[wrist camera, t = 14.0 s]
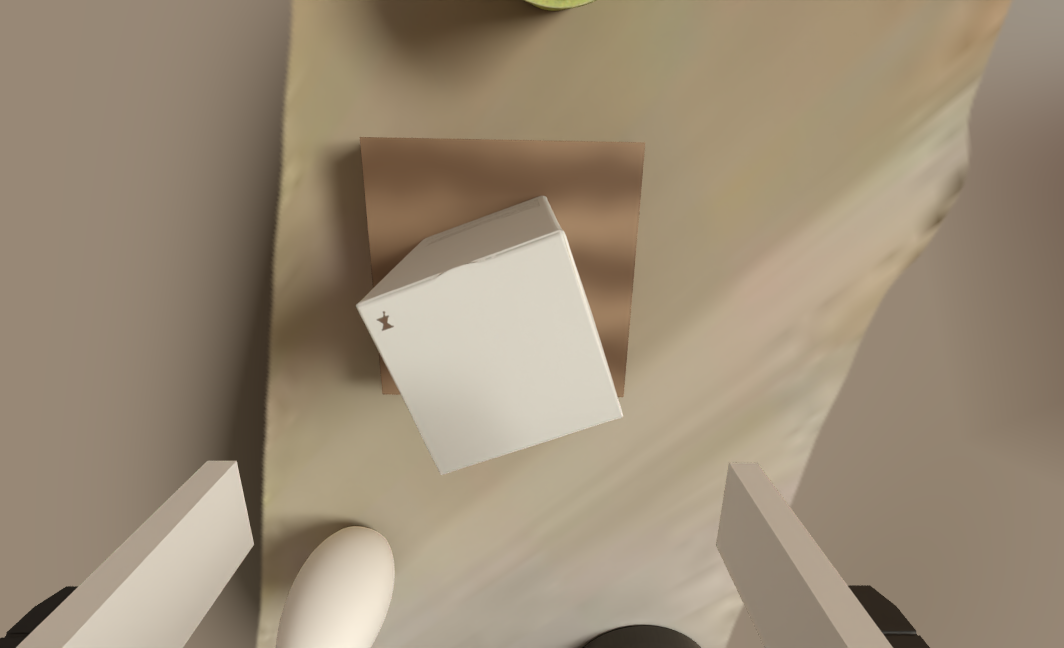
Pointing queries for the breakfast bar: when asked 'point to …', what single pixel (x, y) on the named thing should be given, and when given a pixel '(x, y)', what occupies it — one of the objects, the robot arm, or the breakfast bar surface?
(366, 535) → the white teardrop-shaped piece
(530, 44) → the breakfast bar surface
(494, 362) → the supplement box
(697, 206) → the breakfast bar surface
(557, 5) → the plant pot
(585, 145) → the walnut riser
